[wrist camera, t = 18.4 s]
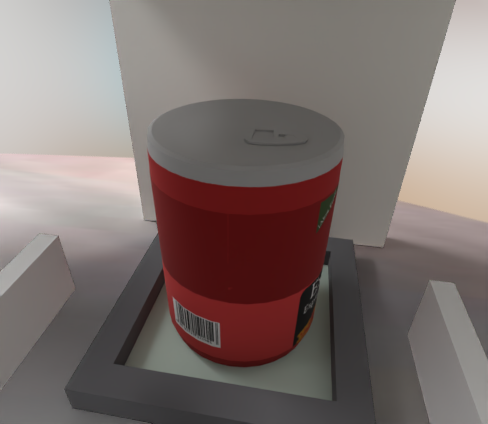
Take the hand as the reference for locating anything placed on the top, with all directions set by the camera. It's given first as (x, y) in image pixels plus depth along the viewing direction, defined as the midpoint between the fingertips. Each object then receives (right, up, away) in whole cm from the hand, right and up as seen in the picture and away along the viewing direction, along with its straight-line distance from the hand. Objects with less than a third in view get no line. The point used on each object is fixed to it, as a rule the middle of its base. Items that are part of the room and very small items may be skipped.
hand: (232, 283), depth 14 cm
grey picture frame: (0, -3, +8) cm, 8 cm away
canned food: (0, -3, +8) cm, 8 cm away
